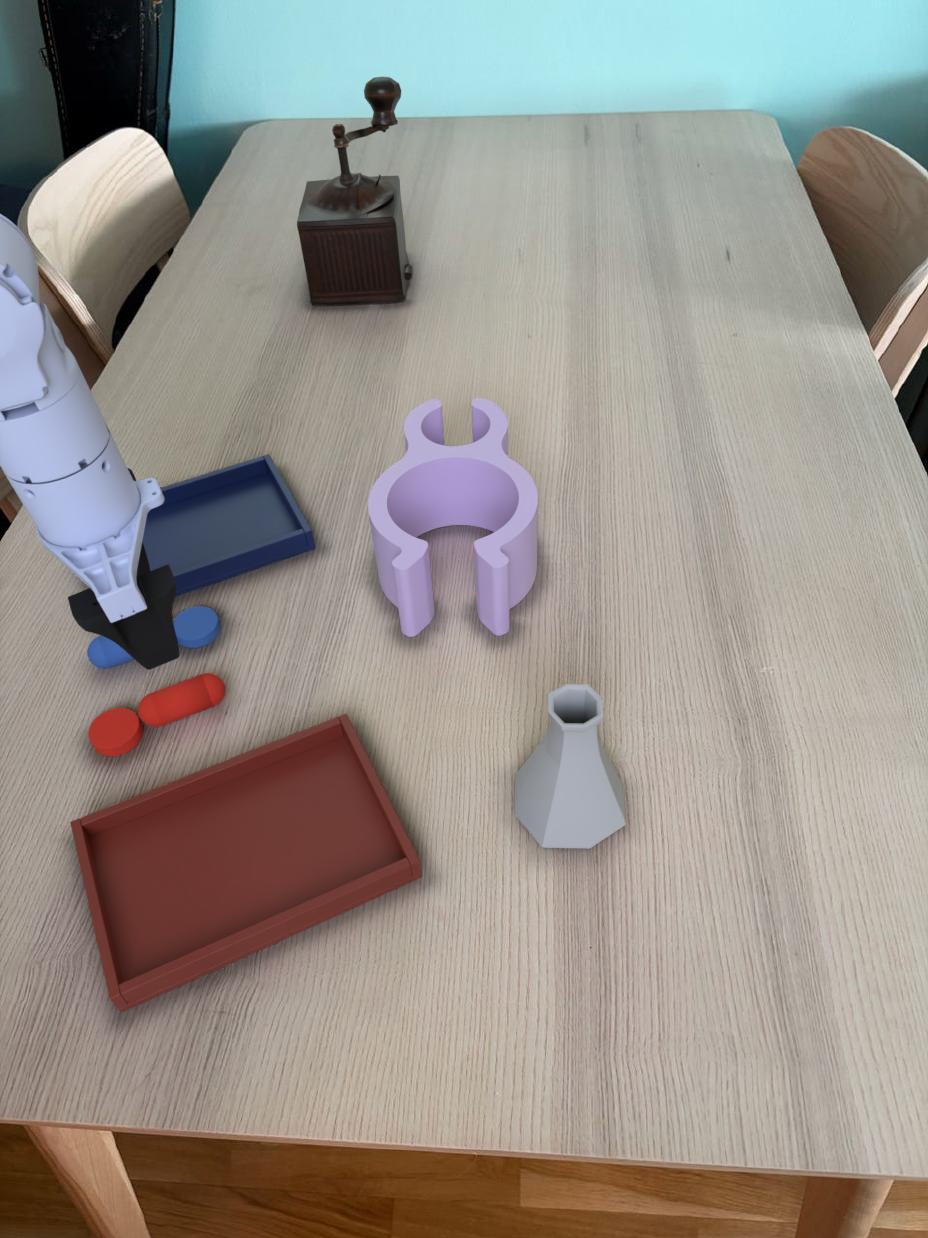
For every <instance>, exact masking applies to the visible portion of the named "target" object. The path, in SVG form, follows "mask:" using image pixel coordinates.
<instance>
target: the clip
mask: <svg viewBox="0 0 928 1238" xmlns="http://www.w3.org/2000/svg"><path fill="white" fill-rule="evenodd" d="M470 404H471V405H470V407H471V426H472V427H471V428H472V442H471V443H468V444H462V445H446V444H445V432H444V420H443V419H444V417H443V405H442V402H441V400H439V399H437V398H431V399H428V400H426V401H424V402H422V403H420V404H418V405H417V406H416V407H414V408H413V409H412V410H411V411H410V412H409V413H408V415H407V416H406V418H405V419H404V422H403V434H404V435H403V439H404V447H405V454H404V455H403V456H402V458H400V460H398V461H397V462H395V463H393V464H391V466H389V467H388V468H387V469H386V470H384V471H383V473H381V474H380V476H379V477H378V478H377V479H376V480H375V482H374V483H373V484H372V487H371V489H370V492H369V495H368V499H367V511H368V517H369V525H370V530H371V537H372V543H373V544H372V545H373V549H374V550H373V552H374V557H375V564H376V569H377V576H378V581H379V585H380V588H381V590H382V592H383V594H384V595H385V597H386V598H387V599H388V601H390V602H391V604H392V605H393V606H395V608H397V609H398V616H399V625H400V631H401V634H403V635H404V636H405V637H408V638H413V637H414V638H415V637H416V636H418V635H419V634H420V633H421V632H422V631H423V630H424V629H426V628H427V626H428V625H430V624H431V622H432V620H433V618H434V616H435V613H436V609H435V599H434V590H433V580H432V570H431V558H430V548H429V542H428V541H426V540H424V539H421V538H418V537H420V536H422V535H423V534H425V533H428V532H429V531H432V530H436V529H439V528H445V527H449V526H450V527H451V526H471V527H477V528H481V529H485V530H488V531H490V532H492V533H491V534H488V535H486V536H483V537H481V538H478V539H476V540H474V542H473V557H474V559H473V560H474V577H475V579H474V580H475V581H474V582H475V595H476V596H475V597H476V614H477V616H478V619H479V621H480V623H482V625H483V626H485V627H486V628H487V629H488V630H489V631H490V632H491V634H493V635H495V636H497V637H500V636H503V635H505V634H507V633H509V632H510V630H511V620H510V618H511V617H510V615H511V614H510V613H511V611H510V610H512V608H514V607H515V606H517V605H518V604H519V603H520V602H521V601H522V600H523V599H525V597H526V596H527V595H528V593H529V592H530V591H531V588H532V587H533V585H534V583H535V579H536V577H537V572H538V528H539V527H538V522H539V521H538V519H539V516H538V515H539V493H538V489H537V486H536V483H535V481H534V479H533V477H532V475H530V473H529V472H528V471H527V470H526V469H525V468H524V467H523V466H522V465H520V464H519V463H518V462H517V461H515V460H514V459H512V458H510V457H509V420H508V418H507V415H506V413H505V412H504V410H503V409H502V408H501V407H500V406H498V405H497V403H494V402H492V401H491V400H489V399H486V398H484V397H477V398H476V397H475V398H474V399H473V400H471V403H470Z"/></svg>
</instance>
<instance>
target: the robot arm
mask: <svg viewBox="0 0 928 1238" xmlns="http://www.w3.org/2000/svg"><path fill="white" fill-rule="evenodd" d="M39 278H40V275H39V266H38V263H37V259H36V256H35V252H34V250H33V247H32V245H31V243H30V242H29V239H28V238H27V237H26V235H25V234H24V233H23V232H22V230H21V229H20V228H19V227H18V225H16V224H15V223H14V222H13V221H11V220H10V219H9V218H8V217H7V216H4V215H3V214H1V213H0V468H1V470H2V471H3V474H4V476H5V477H6V479H7V480H8V482H9V484H10V486H11V487H12V489H13V490H14V492H15V493H16V495H17V497H18V499H19V501H20V502H21V504H22V505H23V507H24V509H25V510H26V512H27V513H28V515H29V517H30V518H31V520H32V522H33V523H34V525H35V533H36V535H37V537H38V539H39V540H40V543H41V544H42V545H43V547H44V548H45V549H46V551H48V552H49V553H50V554H51V555H52V556H53V557H54V558H55V559H57V560H58V561H59V562H60V563H61V564H63V566H65V567H66V568H67V569H68V570H69V571H70V572H71V573H72V574H74V575H75V576H76V577H77V578H78V579H79V580H81V582H83V583H84V584H85V585H86V586H87V587H88V588H86V589H84V590H82V591H78V592H76V593H74V594H71V595H69V596H67V601H68V604H69V608H70V612H71V615H72V617H73V619H74V620H75V622H76V623H77V625H78V626H79V627H80V628H81V629H82V630H84V632H88V633H92V634H96V635H98V636H104V637H106V638H108V639H110V640H112V641H113V642H115V643H116V644H118V645H119V646H120V647H121V648H122V649H124V650H125V651H126V652H127V653H128V654H129V655H130V656H131V657H132V658H134V661H135V662H136V663H138V664H139V665H141V666H142V668H144V669H146V670H148V671H150V670H153V669H156V668H157V667H160V666H162V665H165V664H168V663H170V662H173V661H175V660H177V659H178V658H179V657H180V647H179V643H178V641H177V636H176V633H175V629H174V624H173V621H174V619H173V607H174V602H175V599H176V597H177V596H176V582H175V578H174V576H173V573H172V571H171V568H170V566H169V564H167V565H165V566H162V567H160V568H157V569H155V570H152V571H150V566H149V562H148V558H147V555H146V551H145V548H144V545H143V541H142V540H143V535H144V529H145V524H146V518H147V514H148V512H149V511H150V510H151V509H153V508H156V507H158V506H160V505H162V504H163V502H164V499H165V498H164V496H163V493H162V491H161V489H160V488H161V487H160V484H159V482H158V480H157V479H156V478H155V477H146V478H143V479H141V480H137V479H136V476H135V474H134V472H133V470H132V469H131V468H130V467H128V466H127V465H126V462H125V459H124V458H123V456H122V454H121V452H120V449H119V447H118V446H117V443H116V441H115V439H114V437H113V435H112V433H111V431H110V429H109V427H108V424H107V422H106V420H105V418H104V416H103V413H102V412H101V409H100V407H99V405H98V403H97V401H96V399H95V397H94V395H93V393H92V390H91V388H90V386H89V383H87V380H86V377H85V375H84V374H83V372H82V370H81V368H80V366H79V363H78V361H77V359H76V357H75V356H74V354H73V352H72V351H71V349H70V348H69V347H68V346H67V345H66V344H65V340H64V337H63V335H62V332H61V330H60V329H59V327H58V325H57V324H56V323H55V320H54V319H53V317H52V314H51V312H50V310H49V308H48V307H47V305H46V304H45V303H43V302H40V279H39Z"/></svg>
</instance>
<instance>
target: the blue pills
mask: <svg viewBox="0 0 928 1238" xmlns="http://www.w3.org/2000/svg"><path fill="white" fill-rule="evenodd" d="M173 624H174V629H175V633H176V636H177V641H178V645H181V646H182V647H184V648H188V649H198V648H203V647H205V646H208V645H209V644H211V643H212V642H214V641H215V640H216V639H217V637H218V636H219V635H220V632H221V627H222V626H221V623H220V619H219V616H218V614H217V612H216V611H215V610H214V609H212V608H210V607H207V606H205V605H204V606H203V605H197V606H192V607H188V608H186V609H183V610H182V611H181V612H179V613H178V614H177V615H176V616H175V617H174V619H173ZM86 653H87V658H88V661H89V662H90V663H91V665H93V666H95V667H97V668H99V669H111V668H114V667H116V666H120V665H122V664H125V663H128V662H130V661H133V660H134V661H135V659H134V658H132V657H131V656H130V655H129V654H128V653H127V652H126V651H125V650H124V649H122V648H121V647H120V646H119V645H118V644H116V643H115V642H113V641H112V640H110V639H108V638H106V637H104V636H101V635H98V636H97V637H95V638H94V639H92V640H91V641H90V642H89V644H88V647H87V650H86Z"/></svg>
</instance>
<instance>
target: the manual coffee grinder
mask: <svg viewBox="0 0 928 1238" xmlns="http://www.w3.org/2000/svg"><path fill="white" fill-rule="evenodd" d="M364 85H365V86H364V89H363V95H364V99H365V101H367V103H368V104H369V106H370V108H371V110H372V112H373V114H372V118H371V121H370V125H371V126H368V127H365V128H360V129H356V130H351V131H348V132H347V133H346V127H345V125H344V124H342V123H336V124H334V125H333V126H332V130H331V131H332V135H333V136H334V138H333V143H334V145H333V147H334V148H335V149H337V155H338V162H339V168H340V174H339V175H337V176H335V177H333V178H329V179H320V180H308V181H306V184H305V188H304V192H303V196H302V200H301V203H300V207H299V211H298V216H297V220H296V228H297V232H298V238H299V243H300V249H301V254H302V259H303V264H304V269H305V276H306V280H307V286H308V287H307V288H308V292H309V300H310V305H311V306H320V307H321V306H325V307H327V306H328V307H331V306H351V305H352V306H353V305H373V304H393V303H394V304H395V303H400V302H404V301H406V299H407V293H408V288H409V284H410V280H411V279H412V277H413V275H414V274H413V265H412V264H410V260H409V257H408V252H407V243H406V232H405V231H406V230H405V221H404V212H403V204H402V203H403V202H402V195H401V194H402V193H401V180H400V176H399V175H381V174H378V175H377V176H376V175H375V176H374V175H373V176H368V175H364V174H363V173H362V172H357V173H352V172H351V170H350V163H349V157H348V151H347V150H348V149H347V148H348V147H349V144H350V143H351V142H353V141H355V140H358V139H361V138H365V137H368V136H371V135H372V134H375V133H377V132H382V133H386V132H387V131H388V130H389V129H390V127H392V126H396V125H398V124H399V121H398V119H397V117H396V113H395V111H396V107H397V106H398V103H399V101H400V100H401V98H402V88H401V85H400V83H399V82H398V81H396V80H394V79H393V78H391V77H390V76H376V77H373V78H371V79H369V81H367V82H366V83H365V84H364Z"/></svg>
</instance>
